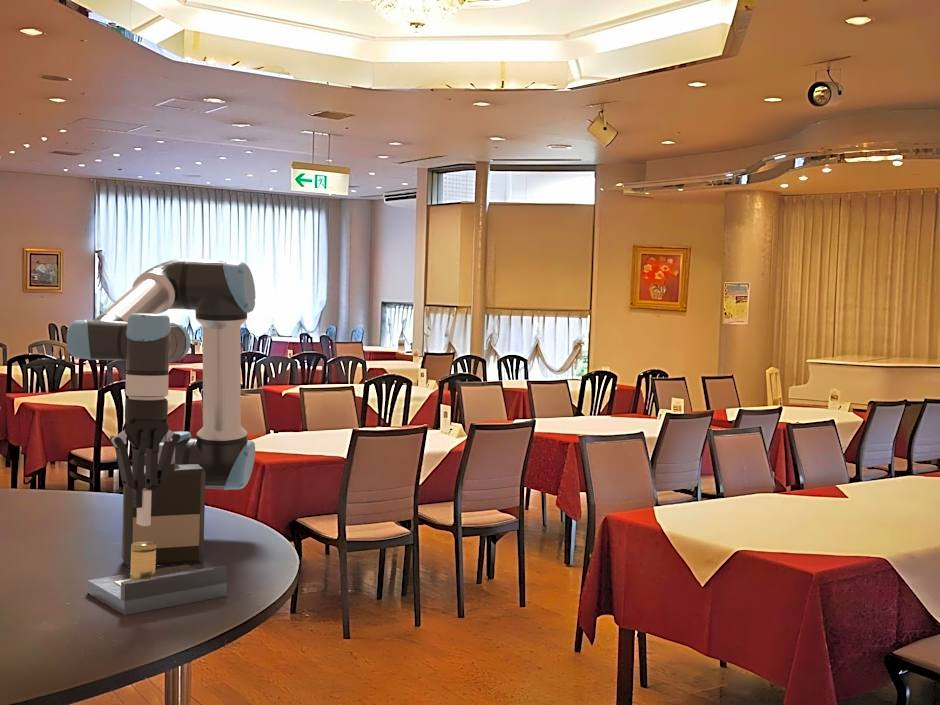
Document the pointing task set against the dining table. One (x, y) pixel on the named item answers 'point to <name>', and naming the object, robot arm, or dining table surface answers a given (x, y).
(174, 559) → the brown box
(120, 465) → the robot arm
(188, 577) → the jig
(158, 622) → the dining table surface
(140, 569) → the gold cylinder
